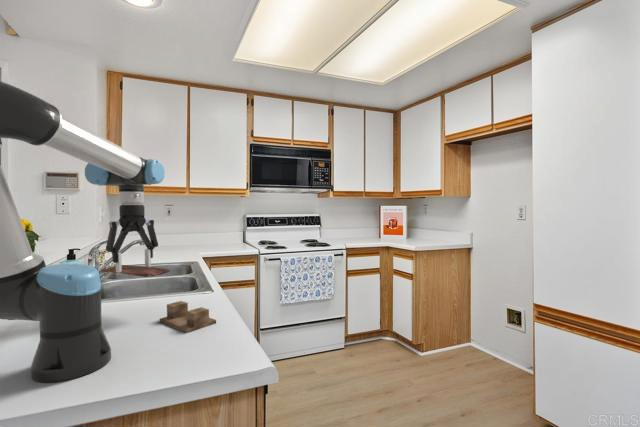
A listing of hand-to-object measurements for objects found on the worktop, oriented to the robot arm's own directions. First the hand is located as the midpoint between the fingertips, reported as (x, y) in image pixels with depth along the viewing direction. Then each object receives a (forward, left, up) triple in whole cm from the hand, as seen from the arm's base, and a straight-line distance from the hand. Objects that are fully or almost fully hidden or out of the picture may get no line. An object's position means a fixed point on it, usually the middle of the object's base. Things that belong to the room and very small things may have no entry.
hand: (133, 269), depth 116 cm
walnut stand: (+6, -23, -15) cm, 28 cm away
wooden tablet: (0, 0, -1) cm, 1 cm away
